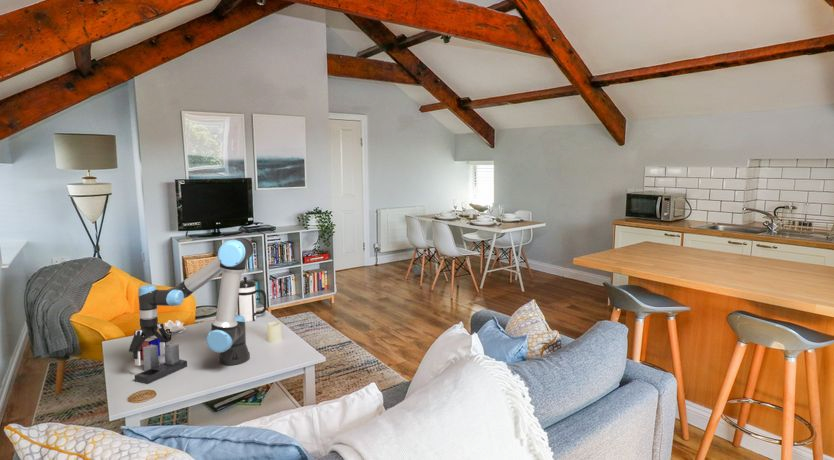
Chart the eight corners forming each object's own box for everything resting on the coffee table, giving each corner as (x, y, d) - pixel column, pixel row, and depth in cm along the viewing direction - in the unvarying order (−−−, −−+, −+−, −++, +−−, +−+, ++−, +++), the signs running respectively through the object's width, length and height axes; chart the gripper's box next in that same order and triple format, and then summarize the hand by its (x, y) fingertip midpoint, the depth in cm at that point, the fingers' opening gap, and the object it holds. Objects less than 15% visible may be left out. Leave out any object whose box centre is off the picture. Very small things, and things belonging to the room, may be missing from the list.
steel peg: (159, 369, 231) (157, 345, 230) (151, 372, 227) (149, 348, 226) (152, 368, 233) (151, 344, 232) (144, 371, 229) (143, 347, 228)
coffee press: (245, 327, 297) (243, 280, 294) (229, 323, 306) (227, 277, 302) (267, 320, 311) (266, 275, 308) (252, 316, 320) (250, 273, 317)
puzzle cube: (150, 360, 243) (149, 341, 242) (133, 359, 245) (132, 340, 244) (164, 353, 253) (163, 335, 252) (148, 352, 255) (147, 334, 254)
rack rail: (187, 366, 235) (186, 360, 235) (147, 384, 215) (147, 377, 214) (175, 364, 238) (175, 358, 238) (134, 381, 218) (134, 375, 217)
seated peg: (179, 368, 233) (178, 344, 232) (172, 371, 229) (170, 347, 228) (173, 366, 235) (171, 343, 233) (165, 370, 231) (164, 346, 229)
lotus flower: (157, 333, 286) (156, 319, 285) (184, 328, 295) (183, 314, 294) (161, 339, 275) (160, 324, 274) (189, 334, 284) (188, 320, 283)
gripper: (165, 309, 240) (167, 350, 242) (118, 323, 217) (120, 368, 219) (176, 311, 237) (177, 352, 240) (129, 325, 214) (132, 370, 217)
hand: (150, 360), depth 230 cm, fingers open, 13 cm apart
